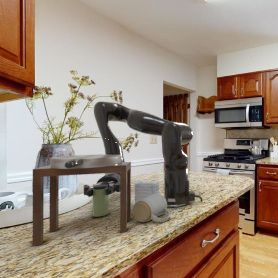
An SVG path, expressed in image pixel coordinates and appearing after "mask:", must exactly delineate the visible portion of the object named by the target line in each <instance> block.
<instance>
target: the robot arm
mask: <svg viewBox="0 0 278 278" xmlns="http://www.w3.org/2000/svg"><path fill="white" fill-rule="evenodd" d="M93 116H94V120H95V122H96V126H97V128H98V132H99V134H100V137H101V140H102V144H103V147H104V153H105V154H104V155H121V156H122V162H126V161H125V158H124V151H123V146H122V144H121V142H120V140H119V139H118V138H117V137H116V135H115V134H114V133H113V130H112V129H111V127H110V124H109V123H110V122H121V123H125V124H126V125H127V127H129V129H131V130H133V131H135V132H138V133H141V134H145V135H151V136H158V137H160V138H161V153H162V157H163V159H164V164H163V168H164V173H163V174H164V175H163V177H164V179H163V181H164V182H163V183H164V184H163V187H164V188H163V189H164V191H163V192H164V193H163V196H164V198H165V199H166V201H167V208H180V207H183V206H188V205H190V202H195V201H196V198H197V199H198V198H199V199H200V202H201V203H202V202H203V201H204V200H203V197H202V196H200V195H198V194H196V192H195V191H194V190H190V180H189V154H187V153H186V152H184V151H183V147H182V146H183V145H187V144H189V143H191V141H192V140H193V138H194V132H193V129H192V128H191V126H189V125H188V124H186V123H185V122H184V123H183V122H176V121H171V120H167V119H165V118H162V117H160V116H157V115H154V114H151V113H149V112H146V111H143V110H138V109H133V108H129V107H127V106H125V105H123V104H122V103H121V104H120V103H118V102H113V101H101V100H100V101H97V102H96V103H94V106H93ZM105 138H106V139H105ZM108 139H109V140H108ZM115 142H117V143H115ZM119 142H120V143H119ZM101 184H107V185H108V188H107V189H106V195H109V196H110V195H113V194H115V193H120V173H104V175H103V176H101V177H100V178H99V179H98V180H97V181H96V183H94V184H93V185H92V186H90V185H88V184H84V185H83V195H84V196H87V197H88V198H92V197H93V186H95V185H101Z"/></svg>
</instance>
